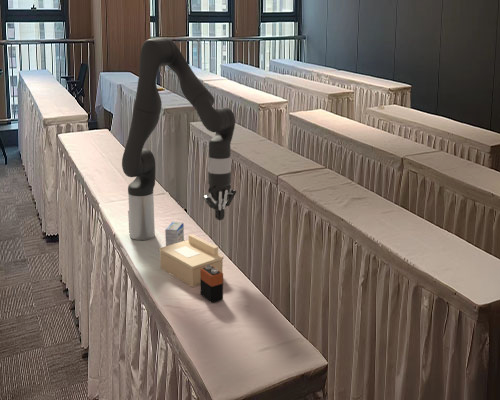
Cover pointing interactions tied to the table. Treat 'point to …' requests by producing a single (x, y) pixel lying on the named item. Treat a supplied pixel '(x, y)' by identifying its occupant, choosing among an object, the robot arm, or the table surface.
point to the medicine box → (174, 233)
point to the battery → (211, 283)
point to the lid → (193, 252)
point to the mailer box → (185, 270)
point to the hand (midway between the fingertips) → (219, 219)
